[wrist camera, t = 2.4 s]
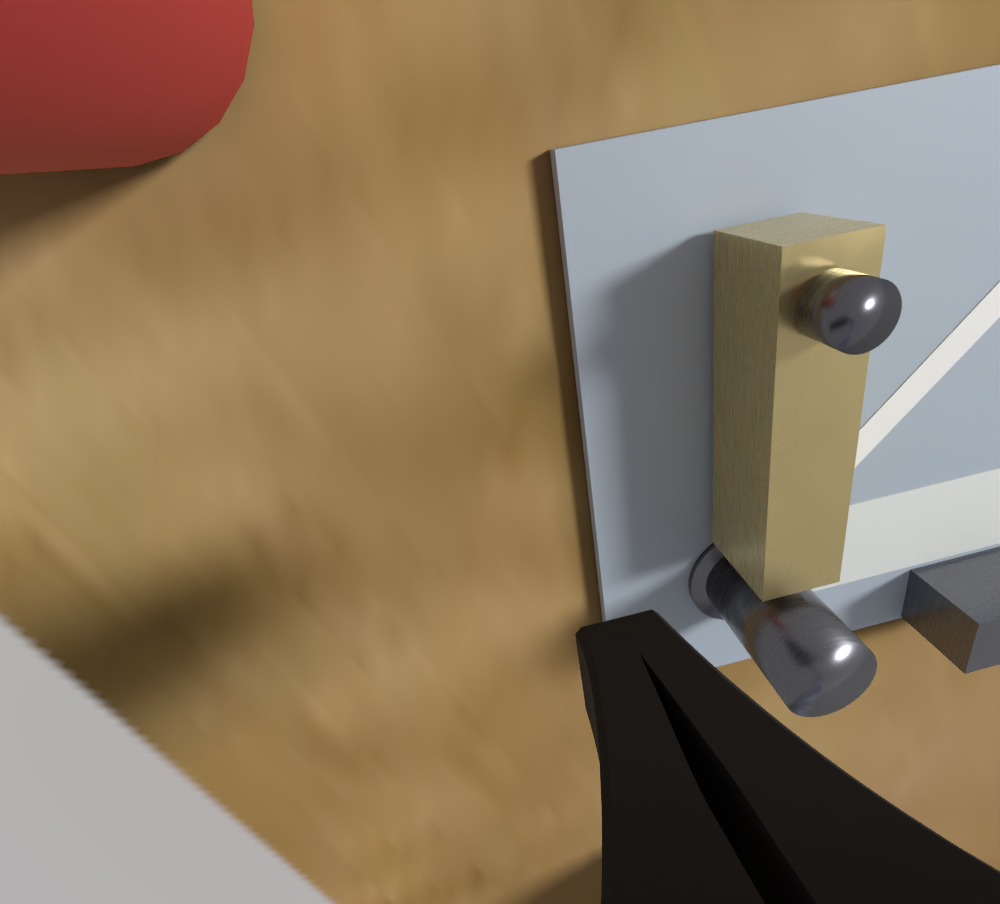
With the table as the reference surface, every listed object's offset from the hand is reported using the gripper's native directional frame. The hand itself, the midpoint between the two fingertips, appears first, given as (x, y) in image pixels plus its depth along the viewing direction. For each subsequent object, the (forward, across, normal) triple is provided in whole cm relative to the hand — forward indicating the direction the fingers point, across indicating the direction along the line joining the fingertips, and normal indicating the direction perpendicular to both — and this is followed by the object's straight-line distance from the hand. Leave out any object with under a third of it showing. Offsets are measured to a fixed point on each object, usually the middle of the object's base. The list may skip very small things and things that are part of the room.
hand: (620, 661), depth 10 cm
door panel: (+9, -11, +2) cm, 14 cm away
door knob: (+9, -7, +7) cm, 13 cm away
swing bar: (+8, -7, 0) cm, 11 cm away
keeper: (+9, -16, +10) cm, 21 cm away
